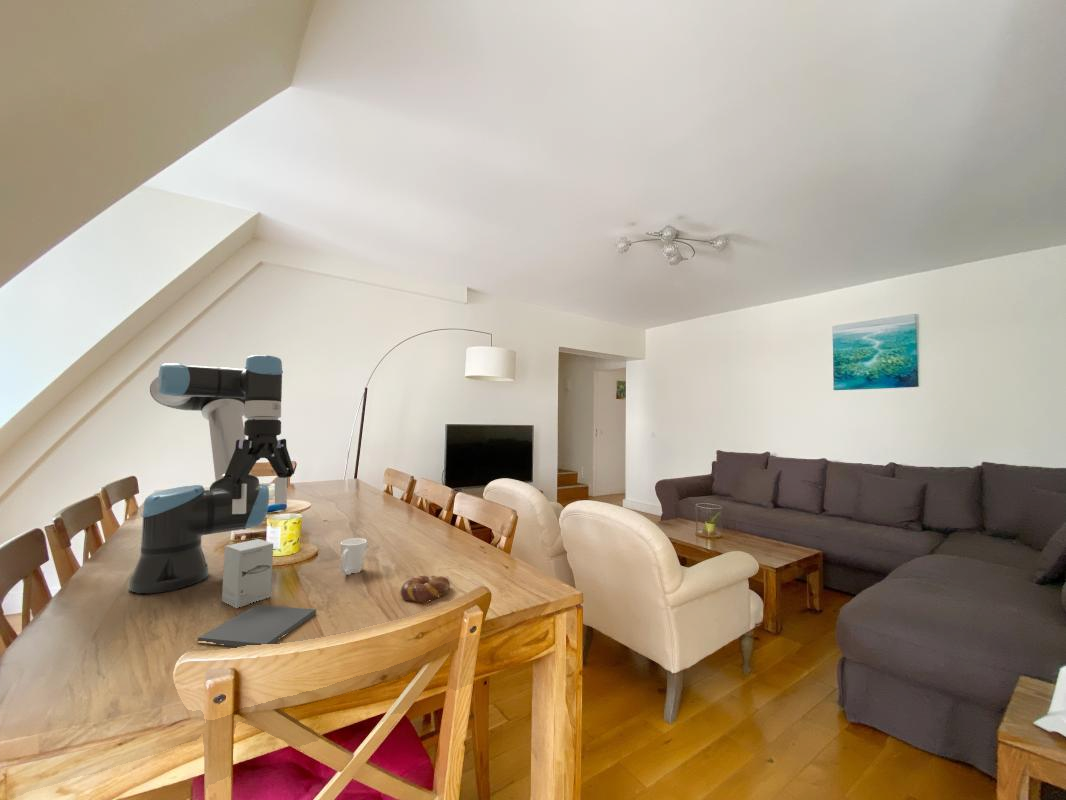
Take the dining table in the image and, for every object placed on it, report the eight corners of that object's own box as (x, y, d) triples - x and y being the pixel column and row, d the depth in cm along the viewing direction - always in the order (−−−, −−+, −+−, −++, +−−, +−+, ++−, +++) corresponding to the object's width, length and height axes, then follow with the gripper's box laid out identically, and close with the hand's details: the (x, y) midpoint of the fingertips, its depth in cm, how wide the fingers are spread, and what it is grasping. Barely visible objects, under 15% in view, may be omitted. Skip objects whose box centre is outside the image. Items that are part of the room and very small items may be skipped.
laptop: (197, 643, 78) (197, 637, 78) (256, 609, 92) (257, 604, 92) (265, 649, 76) (265, 643, 76) (315, 613, 90) (315, 609, 90)
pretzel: (441, 582, 109) (441, 567, 109) (457, 597, 100) (458, 581, 100) (394, 591, 103) (394, 576, 103) (407, 608, 93) (408, 591, 94)
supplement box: (236, 609, 91) (238, 551, 92) (221, 601, 95) (223, 545, 96) (272, 597, 98) (274, 542, 98) (256, 590, 102) (258, 537, 102)
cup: (370, 566, 118) (371, 537, 119) (354, 580, 108) (355, 548, 109) (346, 566, 119) (347, 537, 119) (328, 580, 109) (329, 548, 109)
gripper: (237, 416, 89) (234, 518, 87) (309, 420, 114) (308, 499, 112) (204, 417, 90) (201, 519, 88) (283, 421, 115) (281, 500, 113)
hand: (261, 508), depth 100 cm, fingers open, 13 cm apart
